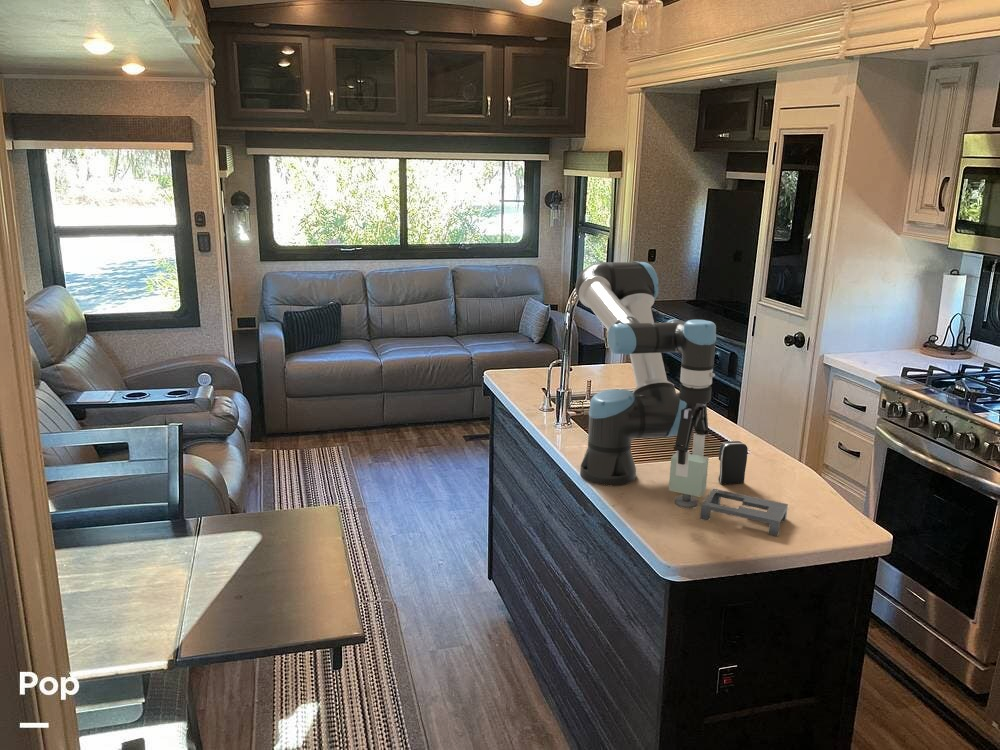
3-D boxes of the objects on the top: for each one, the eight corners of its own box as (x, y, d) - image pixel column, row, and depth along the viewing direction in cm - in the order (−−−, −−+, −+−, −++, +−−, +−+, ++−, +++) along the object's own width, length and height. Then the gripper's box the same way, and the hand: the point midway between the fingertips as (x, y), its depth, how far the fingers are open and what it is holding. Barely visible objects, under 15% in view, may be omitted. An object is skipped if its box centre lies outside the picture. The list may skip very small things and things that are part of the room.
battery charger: (738, 478, 214) (742, 439, 211) (745, 484, 211) (749, 443, 208) (714, 479, 213) (718, 440, 210) (720, 485, 210) (724, 445, 207)
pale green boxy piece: (667, 504, 198) (670, 457, 194) (674, 496, 202) (677, 450, 199) (698, 511, 194) (702, 463, 190) (705, 503, 198) (709, 456, 195)
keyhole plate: (699, 518, 189) (701, 504, 188) (712, 502, 199) (713, 488, 198) (777, 536, 181) (779, 521, 180) (786, 518, 190) (787, 504, 189)
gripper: (696, 398, 177) (690, 486, 183) (724, 375, 199) (718, 454, 204) (664, 394, 181) (658, 480, 186) (695, 371, 202) (689, 449, 207)
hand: (689, 467), depth 195 cm, fingers open, 13 cm apart
